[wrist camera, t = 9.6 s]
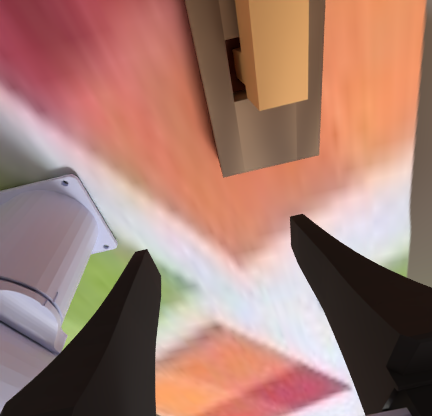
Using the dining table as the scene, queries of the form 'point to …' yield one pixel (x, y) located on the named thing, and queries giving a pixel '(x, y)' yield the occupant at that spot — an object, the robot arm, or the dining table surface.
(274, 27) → the tan wooden beam
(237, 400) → the dining table surface
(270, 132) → the rail
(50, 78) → the dining table surface
